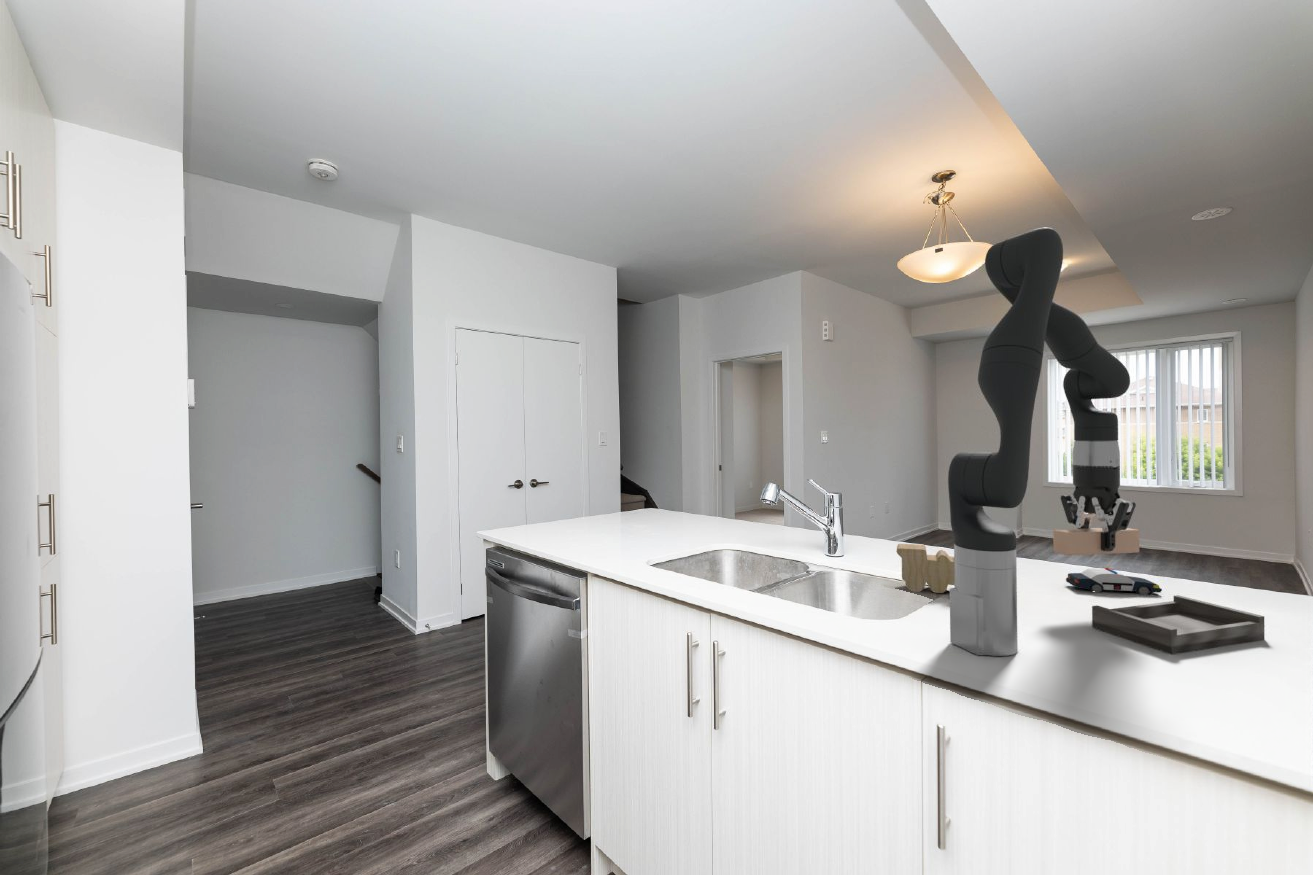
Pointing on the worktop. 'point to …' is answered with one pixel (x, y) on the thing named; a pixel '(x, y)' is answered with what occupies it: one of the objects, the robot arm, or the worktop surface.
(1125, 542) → the tan rectangular block
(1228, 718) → the worktop surface
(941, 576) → the toy train
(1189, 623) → the charcoal tray
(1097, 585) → the toy car
